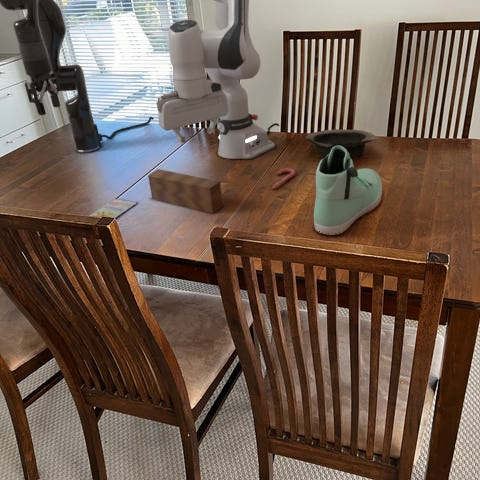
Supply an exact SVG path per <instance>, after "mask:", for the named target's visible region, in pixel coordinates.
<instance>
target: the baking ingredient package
mask: <svg viewBox="0 0 480 480" xmlns="http://www.w3.org/2000/svg"><path fill="white" fill-rule="evenodd" d="M136 204H137V202H135V201H129V200H124V199H118V198H114V199H112V200H111V201H109V202H108V203H106V204H104V205H103V206H101V207H100V208H98V209H96V210H95V211H93V212H92V213H91V214H89V215H88V216H94V217H104V216H106V217H114V219H116V218H118V217H119V216H120V215H122V214H123V213H124V212H126V211H128V210H129V209H130V208H132V207H133V206H134V205H136Z"/></svg>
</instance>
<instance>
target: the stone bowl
mask: <svg viewBox="0 0 480 480" xmlns="http://www.w3.org/2000/svg"><path fill="white" fill-rule="evenodd" d="M377 139H378V136H376V135H375V134H373V133H372V132H369V131H365V130H358V129H344V128H343V129H339V128H338V129H336V128H334V129H325V130H324V129H323V130H320V131H314V132H311V133H308V134H307V135H306V137H305V138H304V140H305V141H307V142H309V143H312V144H313V146H314V150H315V152H316V154H317V156H320V157H322V159H324V158H325V157H326V156H327V155H329V154H330V152H331V149H332V148H333V147H334V146H342V147H344V148H345V149H346V150H347V152H348V153H349V156H350V159H352V158H355V159H356V158H357V159H359V158H362V157H363V156H364V154H365V149H366V144H368V143H372V142H374V141H375V140H377Z"/></svg>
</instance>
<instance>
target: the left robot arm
mask: <svg viewBox="0 0 480 480" xmlns="http://www.w3.org/2000/svg"><path fill="white" fill-rule="evenodd" d="M0 6H1V7H2V8H3V9H5V10H7V11H10V12H15V11H24V10H26V16H25V17H23V18H19V19H17V20H15V21H14V22H13V26H12V27H13V31H14V33H15V37H16V40H17V44H18V50H19V54H20V57H21V61H22V64H23V68H24V71H25V74H26V75H27V76H29V78H30V81H25V82H24V86H25V90H26V91H25V92H26V94H27V98H28V99H27V100H28V102H29V103H31V104H34V105H35V108H36V112H37V114H38V115H39V116H45V115H46V114H47V112H46V108H45V104H44V102H43V100H44V97H45V95H46V92H47V93H48V94H49V95H50V96H49V97H50V101H51V104H52V107H53V108H60V107H61V104H60V102H61V101H60V98H59V92H73V91H76V93H77V94H76V95H75V96H73V97H71V98H69V99H67V100H65V102H64V106H65V110H66V114H67V115H66V116H67V118H68V122H69V126H70V130H71V133H72V137H73V142H74V143H73V144H74V147H75V150H76V152H77V153H80V154H87V153H92V152H96V151H97V150H99V149H100V148H102V142H103V141H104V140H103V138H106V139H107V140H111V139H113V138H114V136H115V135H116V134H117V133H120V132H123V131H127V130H131V129H134V128H138V127H139V128H141V127H144V126H147V125H148V124H151V121H152V120H154V117H153V116H150V117H148V120H147V121H146V122H143V123H138V124H134V125H129V126H127V127H122V128H119V129H117V130H114V131H113V132H112V133H111V134H110V136H109V135H107V134H102V133H99V129H98V125H97V123H95V121H94V116H93V113H92V108H91V104H90V99H89V93H88V90H87V84H86V77H85V73H84V70H83V68H82V66H81V65H79V64H66V65H62V64H61V61H60V60H61V59H60V54H61V50H62V46H63V43H64V40H65V37H66V33H67V26H66V22H65V19H64V16H63V12H62V9H61V7H60V5H58V3H57V2H56V1H55V0H0Z"/></svg>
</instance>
